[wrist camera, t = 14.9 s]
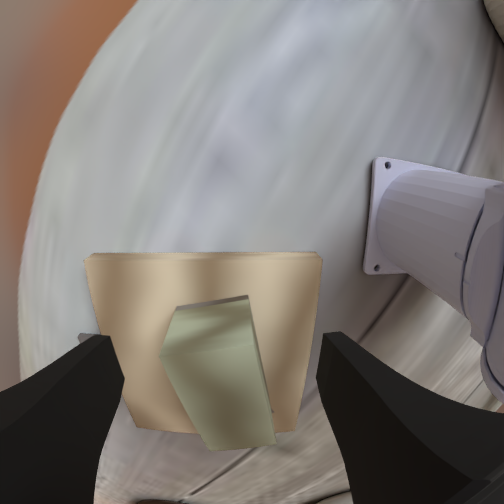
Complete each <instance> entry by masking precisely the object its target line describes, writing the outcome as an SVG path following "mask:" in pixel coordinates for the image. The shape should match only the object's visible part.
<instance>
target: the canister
mask: <svg viewBox="0 0 504 504" xmlns="http://www.w3.org/2000/svg"><path fill="white" fill-rule="evenodd" d="M483 1H484V5H485V7H486V10H487V12H488V14H489V17H490V19H491V21H492V23H493V25H494V26H495V29H496V30H497V32H498V34H499V36H500V37H501V39H502V41H503V42H504V0H483Z"/></svg>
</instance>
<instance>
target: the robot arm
mask: <svg viewBox="0 0 504 504" xmlns="http://www.w3.org/2000/svg"><path fill="white" fill-rule="evenodd" d="M385 162H387V163H388V168H387V169H386V168H385ZM376 265H378V267H377V268H376V269H375V270H374V267H375V266H376ZM363 270H364V272H365V273H366V274H368V275H377V274H398V273H408V274H409V275H411V276H412V277H413V278H415V279H416V280H418V281H419V282H420V283H422V284H423V285H424V286H426V287H427V288H428V289H430V290H431V291H432V292H434V293H435V294H436V295H438V296H439V297H440V298H442V299H443V300H444V301H446V302H447V303H448V304H449V305H451V306H452V307H453V308H455V309H456V310H457V311H458V312H460V313H461V314H462V315H463V316H465V317H466V318H467V319H468V320H469V321H470V323H471V334H470V336H471V337H472V338H473V339H474V340H476V341H477V342H478V343H479V344H480V345H481V346H482V347H483V349H482V353H481V361H480V366H481V372H482V376H483V379H484V381H485V383H486V385H487V387H488V388H489V390H490V391H491V393H492V394H493V395H494V396H495V397H496V398H497V399H498V400H499V401H500V402H502V403H503V404H504V182H502V181H497V180H492V179H486V178H480V177H474V176H468V175H465V174H461V173H457V172H453V171H449V170H445V169H441V168H437V167H432V166H428V165H423V164H418V163H413V162H408V161H403V160H397V159H392V158H386V157H376V158H375V159H374V160H373V165H372V185H371V200H370V212H369V222H368V232H367V240H366V248H365V255H364V262H363ZM316 380H317V384H318V389H319V393H320V397H321V401H322V404H323V407H324V409H325V412H326V415H327V417H328V420H329V422H330V425H331V427H332V430H333V433H334V435H335V438H336V440H337V443H338V446H339V448H340V451H341V454H342V457H343V460H344V463H345V468H346V472H347V476H348V480H349V485H350V490H351V495H352V501H353V504H504V413H497V412H492V411H487V410H483V409H478V408H475V407H471V406H468V405H464V404H462V403H459V402H456V401H453V400H451V399H448V398H445V397H443V396H441V395H438V394H436V393H434V392H432V391H430V390H428V389H426V388H424V387H422V386H420V385H418V384H416V383H414V382H413V381H411V380H409V379H408V378H406V377H404V376H403V375H401V374H399V373H398V372H396V371H395V370H393V369H392V368H390V367H389V366H387V365H386V364H384V363H383V362H381V361H380V360H379V359H377V358H376V357H374V356H373V355H372V354H370V353H369V352H368V351H366V350H365V349H364V348H362V347H361V346H360V345H358V344H357V343H356V342H354V341H353V340H352V339H350V338H349V337H348V336H346V335H345V334H343V333H342V332H341V331H340V332H331V333H323V339H322V346H321V352H320V358H319V364H318V369H317V375H316ZM124 381H125V377H124V375H123V372H122V369H121V367H120V364H119V361H118V358H117V355H116V352H115V349H114V346H113V343H112V340H111V337H110V336H108V335H97V334H96V335H94V336H92V337H90V338H88V339H87V340H85V341H84V342H82V343H81V344H79V345H78V346H76V347H75V348H73V349H72V350H70V351H69V352H67V353H66V354H64V355H63V356H62V357H60V358H59V359H57V360H56V361H54V362H53V363H51V364H50V365H48V366H47V367H45V368H43V369H42V370H40V371H39V372H37V373H35V374H34V375H32V376H31V377H29V378H27V379H26V380H24V381H22V382H20V383H18V384H16V385H14V386H12V387H10V388H8V389H6V390H4V391H1V392H0V504H94V491H95V482H96V475H97V469H98V464H99V459H100V455H101V452H102V448H103V445H104V443H105V440H106V437H107V434H108V432H109V429H110V426H111V424H112V421H113V418H114V416H115V413H116V410H117V408H118V405H119V402H120V398H121V394H122V390H123V386H124Z"/></svg>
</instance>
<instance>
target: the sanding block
mask: <svg viewBox="0 0 504 504" xmlns="http://www.w3.org/2000/svg"><path fill="white" fill-rule="evenodd" d="M159 358H160V360H161V362H162V365H163V367H164V369H165V371H166V373H167V375H168V377H169V379H170V381H171V383H172V385H173V387H174V389H175V391H176V393H177V395H178V397H179V399H180V401H181V403H182V405H183V407H184V408H185V410H186V412H187V414H188V416H189V417H190V419H191V421H192V423H193V425H194V426H195V428H196V430H197V431H198V433H199V435H200V436H201V438H202V440H203V441H204V443H205V445H206V446H207V448H208V449H209V451H222V450H235V449H245V448H253V447H261V446H267V445H274V444H276V437H275V431H274V424H273V418H272V412H271V405H270V399H269V393H268V388H267V383H266V379H265V374H264V369H263V365H262V360H261V355H260V350H259V346H258V341H257V336H256V331H255V326H254V321H253V316H252V312H251V307H250V302H249V297H248V295H242V296H237V297H231V298H225V299H219V300H213V301H207V302H201V303H195V304H188V305H182V306H177V307H176V310H175V312H174V315H173V318H172V321H171V323H170V326H169V329H168V332H167V334H166V337H165V340H164V343H163V346H162V348H161V351H160V354H159Z"/></svg>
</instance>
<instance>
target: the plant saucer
mask: <svg viewBox="0 0 504 504" xmlns="http://www.w3.org/2000/svg"><path fill="white" fill-rule="evenodd" d="M137 504H187V503H180V502H173V501H165V500H145V501H142V502H139V503H137Z"/></svg>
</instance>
